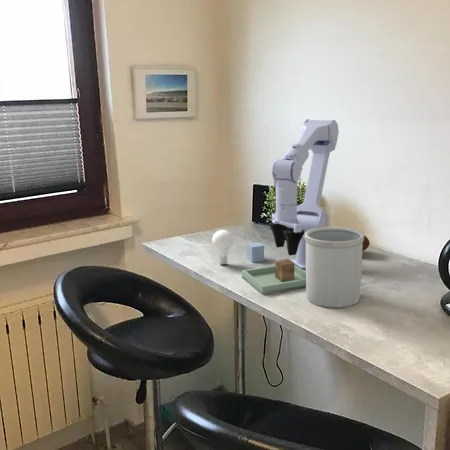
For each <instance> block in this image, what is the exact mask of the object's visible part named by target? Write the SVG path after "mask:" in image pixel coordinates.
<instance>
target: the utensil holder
mask: <svg viewBox="0 0 450 450" xmlns="http://www.w3.org/2000/svg"><path fill="white" fill-rule="evenodd" d="M364 236H365V234H364V232H362V231H361V230H359V229H355V228H352V227H348V226H347V227H345V226H326V227H319V228H314V229H310V230H308V231H306V232H305V240H306V268H305V272H306V287H305V288H306V289H305V291H306V299H307V300H308V301H309V302H310V303H312V304H314V305H317V306H320V307H324V308H332V309H333V308H335V309H337V308H339V309H340V308H347V307H351V306H354V305H355V304H357V303H358V302H360V298H361V296H360V295H361V285H362V267H363V266H362V264H363V263H362V261H363V251H362V248H363V241H364Z"/></svg>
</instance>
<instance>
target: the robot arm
mask: <svg viewBox="0 0 450 450" xmlns="http://www.w3.org/2000/svg"><path fill="white" fill-rule="evenodd" d="M339 134H340V133H339V124H338V122H337V121H336V120H335V119H332V120H329V119H327V120H324V119H309V118H308V119H307V118H306V119H305V120H304V121H303V123H302V124H301V136H300V137H299V139H298V142H297V143H293V144H292V145H290V147H289V148H288V150H287V152H285V154H284V155H283V157H282V158H281V159H277V160H276V161H274V163H273V165H272V170H271V176H272V179H273V185H274V187H275V212H274V213H271V222H269V223H268V226H269V227H270V230H271V232H272V235H273V238H274V243H275V247H276V248H283V247H285V243H286V246H287V254H288V256H295V258H294V259H293V258H292V259H290V260H291V261H292V262H294V265H296V266H297V267H299V268H300V269H302V270H304V269H306V240H305V232H306V231H308V230H310V229H314V228H319V227H327V225H328V224H327V222H328V221H327V220H328V219H327V217H328V214H327V212H326V210H325V209H324V208H323V207H321V199H322V195H323V189H324V184H325V180H326V179H325V178H326V174H327V168H328V164H329V158H330V155H331V152H333V151H335V150H336V147H337V143H338V137H339ZM309 150H310V151H311V152H312V158H311V163H310V169H309V172H308V178H307V183H306V188H305V192H304V199H303V202H302V203H301V204H299V205H298V181H299V180H300V178H301V175H302V172H303V166H304V164H305V163H306V161H307V160H308V159H309V155H310V152H309ZM285 241H286V242H285Z"/></svg>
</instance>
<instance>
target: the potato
mask: <svg viewBox="0 0 450 450" xmlns="http://www.w3.org/2000/svg"><path fill="white" fill-rule="evenodd" d="M370 243H371V242H370V240H369V238H368V237H367V236H366V235H364V241H363V248H362V252H364V251H366V250H367V249H369V247H370Z"/></svg>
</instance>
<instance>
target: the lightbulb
mask: <svg viewBox="0 0 450 450" xmlns="http://www.w3.org/2000/svg"><path fill="white" fill-rule="evenodd" d="M211 242H212V245H213V247H214V248H215V250H216V252H217V255H218V264H220V265H222V266H223V265H226V264H227V263H228V255H229V250H230V249H231V247H232V245H233V243H234V237H233V235H232V233H231V232H229V230H226V229H219V230H217V231H216V232H214V233H213V235H212V238H211Z"/></svg>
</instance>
